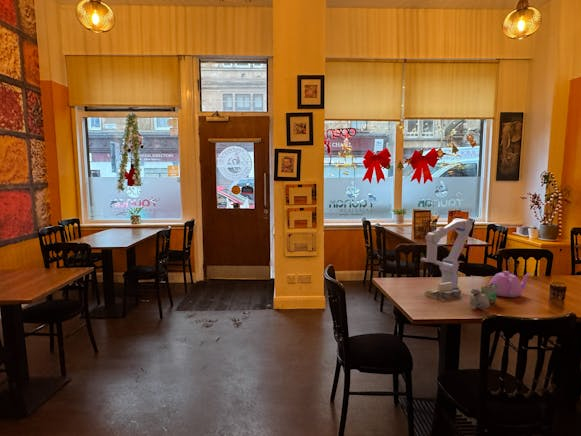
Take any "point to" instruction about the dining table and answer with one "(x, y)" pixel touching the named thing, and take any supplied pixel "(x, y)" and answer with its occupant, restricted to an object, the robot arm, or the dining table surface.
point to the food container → (490, 292)
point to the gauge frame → (444, 294)
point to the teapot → (509, 284)
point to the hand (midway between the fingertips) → (430, 275)
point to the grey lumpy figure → (479, 299)
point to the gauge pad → (444, 287)
